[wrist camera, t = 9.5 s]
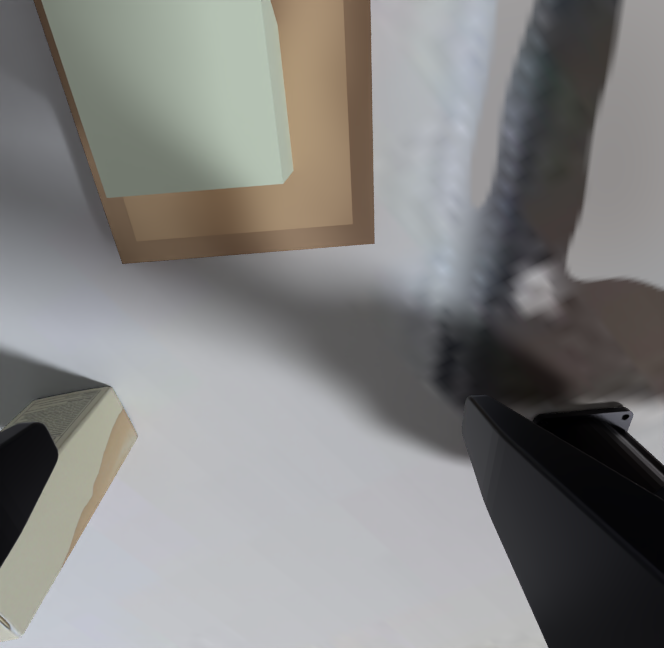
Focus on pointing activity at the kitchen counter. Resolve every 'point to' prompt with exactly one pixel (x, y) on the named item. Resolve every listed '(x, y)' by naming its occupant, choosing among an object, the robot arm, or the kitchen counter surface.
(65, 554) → the box
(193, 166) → the block
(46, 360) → the kitchen counter surface
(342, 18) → the plinth
